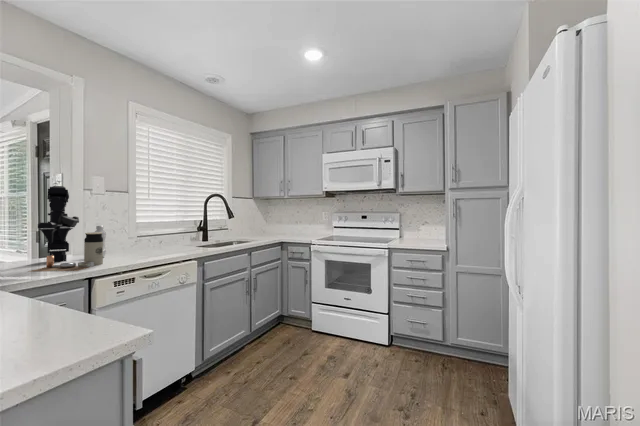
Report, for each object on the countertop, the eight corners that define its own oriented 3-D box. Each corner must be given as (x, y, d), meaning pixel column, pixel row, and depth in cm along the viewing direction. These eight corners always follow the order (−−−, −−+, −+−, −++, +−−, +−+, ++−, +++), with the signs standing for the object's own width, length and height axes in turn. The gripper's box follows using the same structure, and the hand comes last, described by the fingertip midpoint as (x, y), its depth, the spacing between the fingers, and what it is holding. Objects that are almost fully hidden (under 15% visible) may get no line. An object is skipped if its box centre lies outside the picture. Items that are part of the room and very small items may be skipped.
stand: (27, 274, 140) (27, 266, 140) (49, 268, 154) (49, 261, 154) (77, 273, 143) (77, 266, 143) (94, 268, 157) (94, 261, 157)
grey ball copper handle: (78, 265, 155) (78, 254, 155) (70, 267, 149) (71, 256, 149) (51, 266, 153) (51, 255, 153) (42, 268, 147) (42, 256, 147)
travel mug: (80, 266, 160) (81, 232, 160) (97, 264, 167) (98, 232, 167) (88, 268, 156) (89, 233, 156) (105, 266, 163) (106, 232, 163)
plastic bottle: (108, 257, 195) (108, 225, 195) (96, 258, 188) (97, 226, 188) (102, 256, 197) (102, 225, 197) (90, 257, 191) (91, 225, 191)
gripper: (63, 211, 146) (63, 243, 146) (85, 211, 165) (85, 240, 164) (37, 211, 144) (36, 243, 144) (62, 211, 163) (62, 240, 162)
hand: (57, 242), depth 154 cm, fingers open, 9 cm apart
